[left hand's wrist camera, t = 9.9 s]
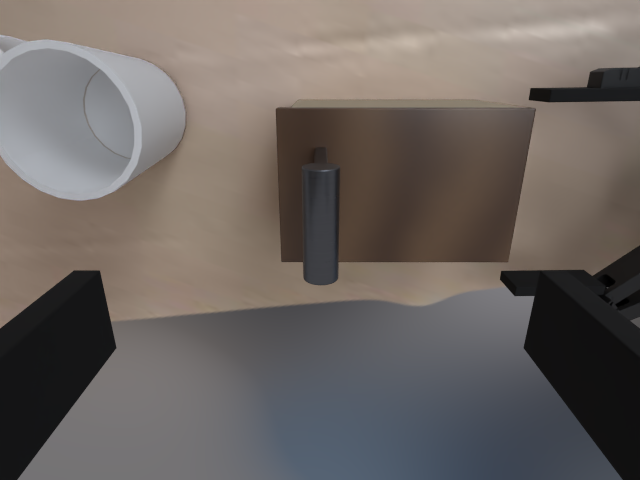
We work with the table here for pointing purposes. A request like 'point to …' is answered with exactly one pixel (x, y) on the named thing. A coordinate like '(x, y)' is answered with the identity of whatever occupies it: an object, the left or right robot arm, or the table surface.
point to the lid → (398, 184)
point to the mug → (83, 116)
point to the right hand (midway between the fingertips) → (521, 196)
